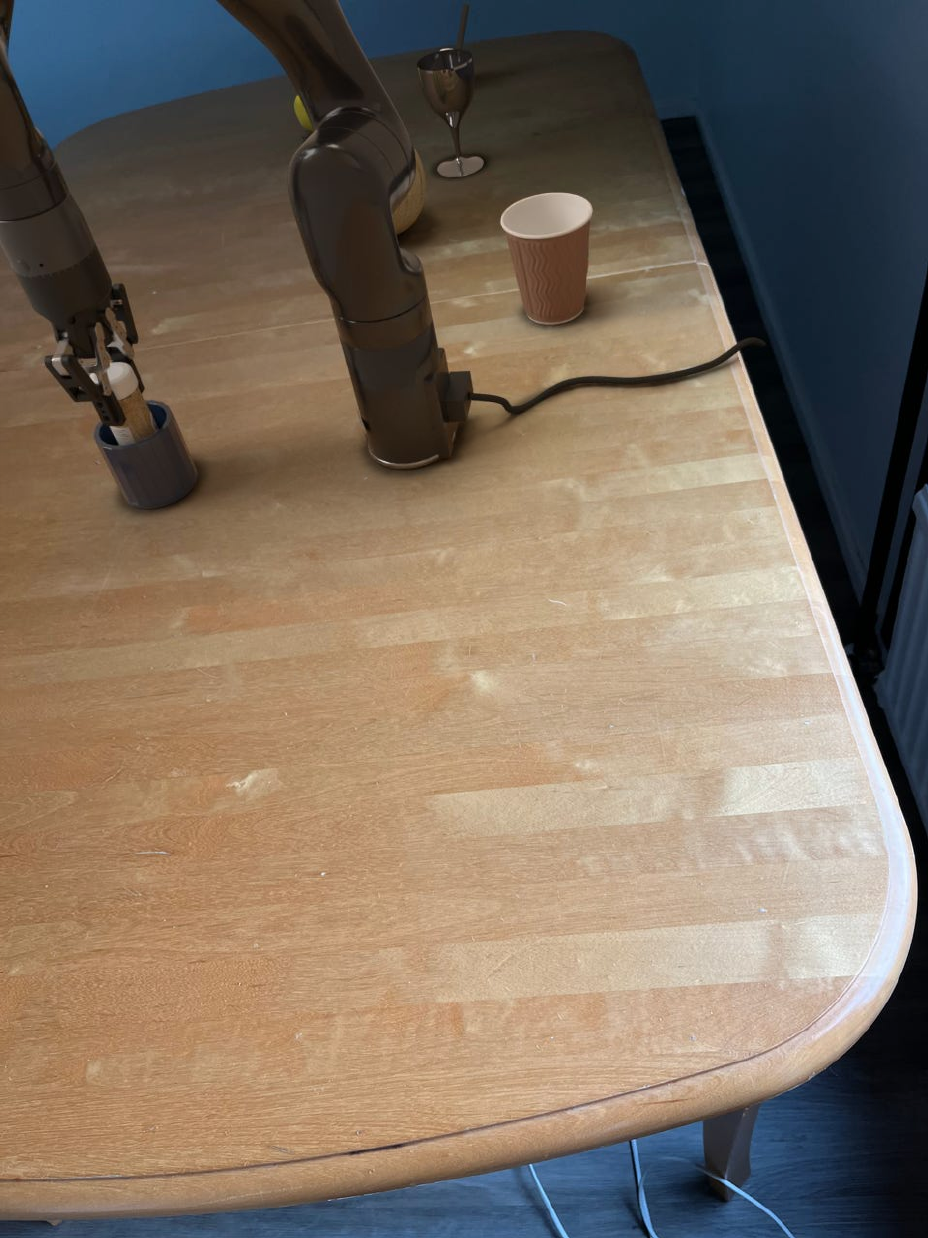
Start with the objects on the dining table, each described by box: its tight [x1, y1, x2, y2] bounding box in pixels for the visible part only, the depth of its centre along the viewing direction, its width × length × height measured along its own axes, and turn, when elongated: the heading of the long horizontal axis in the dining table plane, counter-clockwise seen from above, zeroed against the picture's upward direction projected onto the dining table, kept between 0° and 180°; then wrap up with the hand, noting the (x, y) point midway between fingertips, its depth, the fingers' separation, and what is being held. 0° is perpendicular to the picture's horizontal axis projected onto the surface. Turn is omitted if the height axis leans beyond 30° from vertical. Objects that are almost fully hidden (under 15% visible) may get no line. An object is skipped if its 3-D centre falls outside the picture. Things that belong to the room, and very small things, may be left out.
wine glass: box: [416, 48, 485, 178], centre depth 149 cm, size 8×8×15 cm
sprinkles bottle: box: [89, 362, 159, 446], centre depth 105 cm, size 5×5×14 cm
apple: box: [293, 94, 314, 133], centre depth 167 cm, size 8×9×8 cm
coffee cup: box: [500, 192, 593, 326], centre depth 118 cm, size 10×10×12 cm
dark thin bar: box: [439, 1, 470, 51], centre depth 171 cm, size 10×6×12 cm, turn 98°
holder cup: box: [93, 399, 199, 510], centre depth 108 cm, size 8×8×8 cm
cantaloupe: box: [392, 148, 427, 236], centre depth 137 cm, size 15×15×15 cm
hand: (125, 407), depth 103 cm, fingers closed on sprinkles bottle, 4 cm apart
